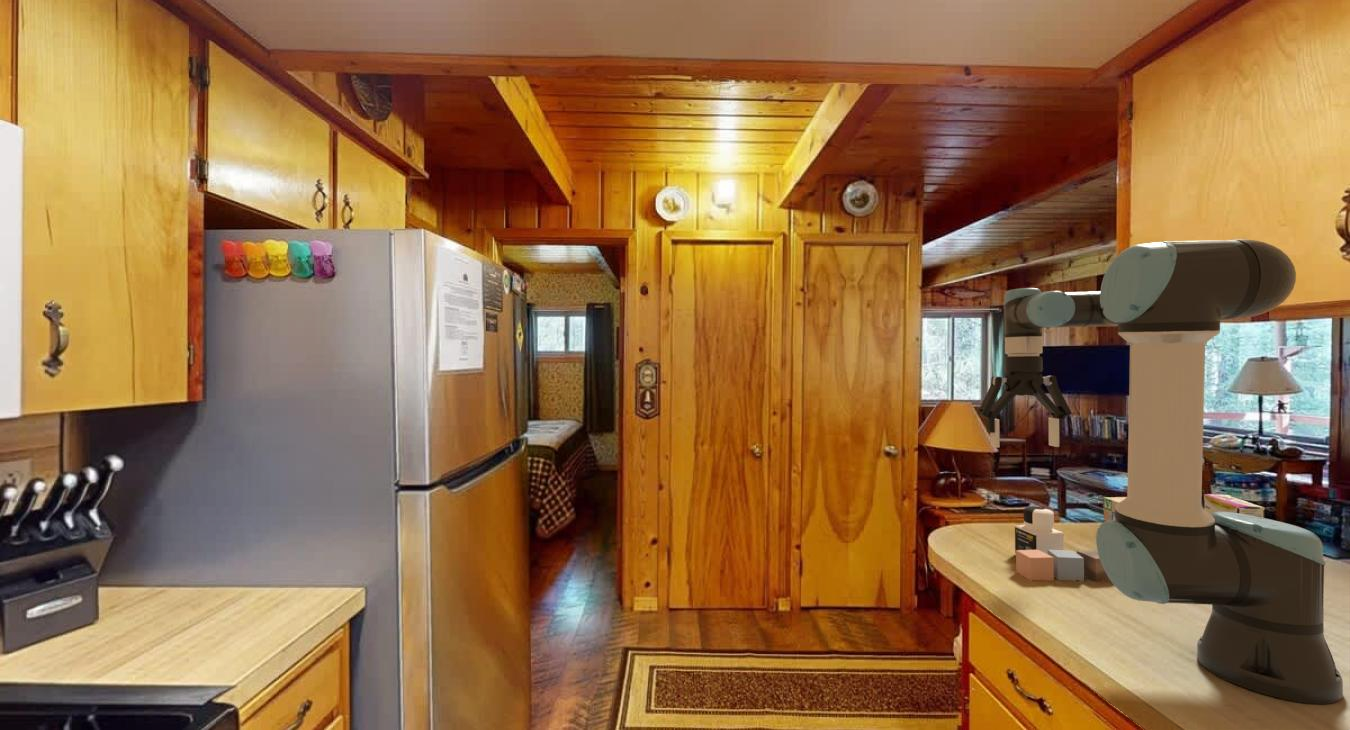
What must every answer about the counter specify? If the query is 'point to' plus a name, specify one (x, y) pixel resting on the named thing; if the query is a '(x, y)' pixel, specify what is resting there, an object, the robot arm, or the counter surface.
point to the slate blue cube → (1067, 565)
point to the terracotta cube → (1035, 565)
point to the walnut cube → (1093, 565)
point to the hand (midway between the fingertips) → (1024, 446)
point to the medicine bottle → (1038, 531)
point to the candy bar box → (1231, 505)
